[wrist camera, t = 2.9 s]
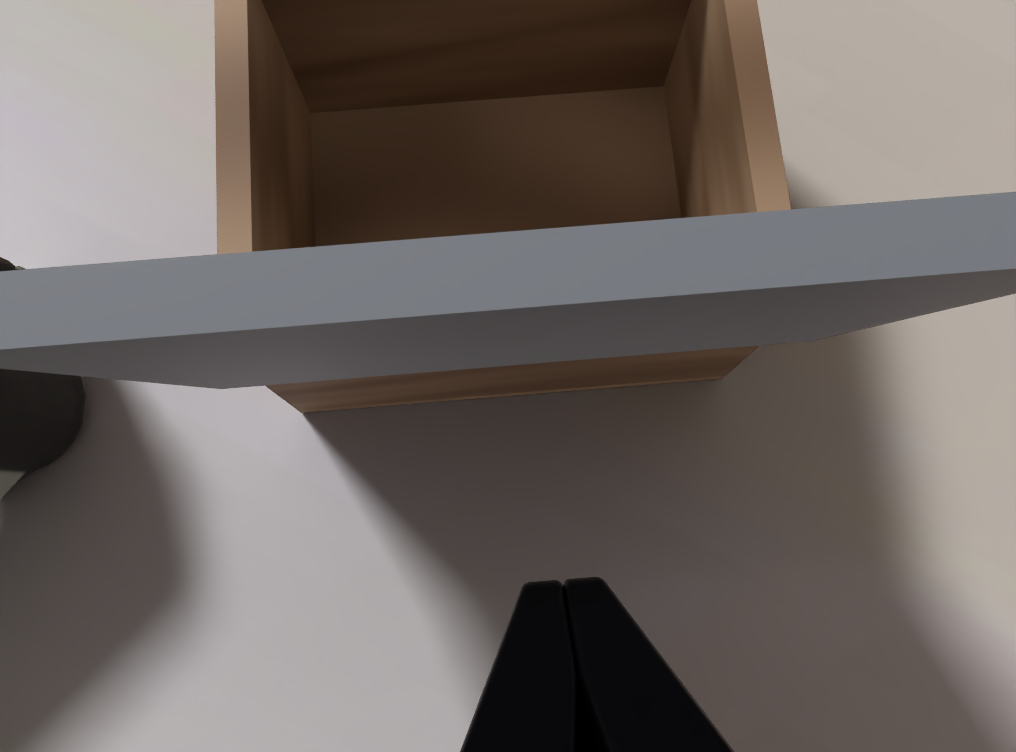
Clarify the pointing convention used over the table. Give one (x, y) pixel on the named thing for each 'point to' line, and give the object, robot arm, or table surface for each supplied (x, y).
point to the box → (488, 142)
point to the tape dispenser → (35, 417)
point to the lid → (509, 295)
